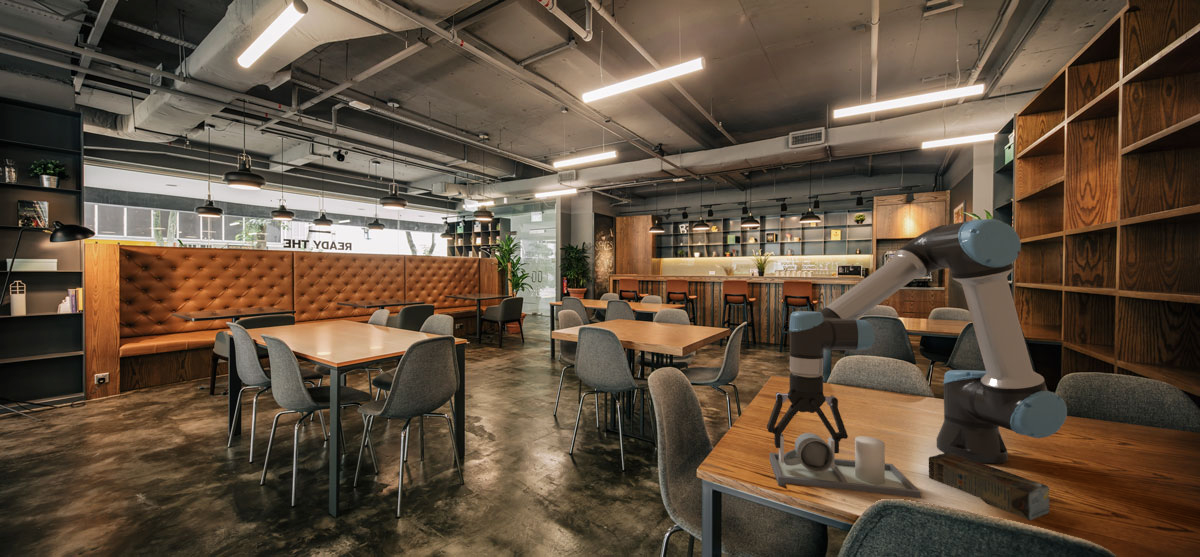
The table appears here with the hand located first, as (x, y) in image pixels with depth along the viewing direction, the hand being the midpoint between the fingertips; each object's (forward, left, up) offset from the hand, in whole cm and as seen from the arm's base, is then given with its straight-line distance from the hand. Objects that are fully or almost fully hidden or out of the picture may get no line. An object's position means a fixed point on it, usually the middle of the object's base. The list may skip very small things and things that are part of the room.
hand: (806, 463), depth 106 cm
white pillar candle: (-14, 0, -2) cm, 14 cm away
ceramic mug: (0, 0, -1) cm, 1 cm away
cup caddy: (-7, 0, -3) cm, 8 cm away
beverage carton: (-37, +1, -3) cm, 37 cm away
